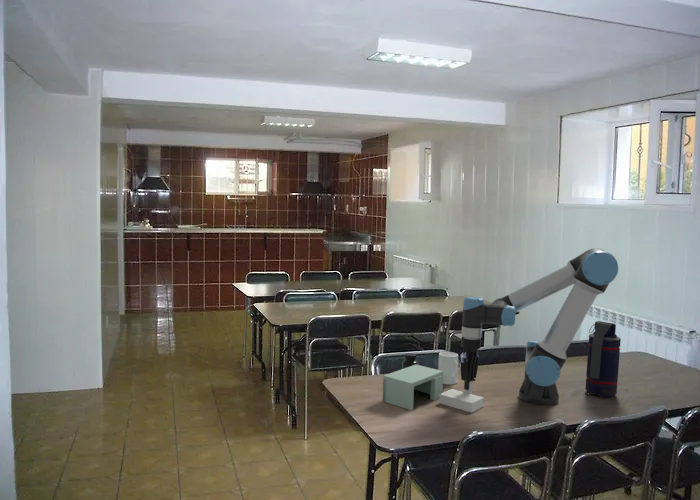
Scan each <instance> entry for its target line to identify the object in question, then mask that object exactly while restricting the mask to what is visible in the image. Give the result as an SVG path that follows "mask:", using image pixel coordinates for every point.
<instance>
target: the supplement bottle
mask: <svg viewBox="0 0 700 500" xmlns="http://www.w3.org/2000/svg"><path fill="white" fill-rule="evenodd" d="M401 363H402V364H401V365H402V366H401V369H404V368H407V367H410V366H413V365H419V362H418V361H417V354H415V353H409V352H408V353H405V354H404V360H403V361H402V362H401Z"/></svg>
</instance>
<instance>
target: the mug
mask: <svg viewBox="0 0 700 500" xmlns="http://www.w3.org/2000/svg"><path fill="white" fill-rule="evenodd" d="M458 362H459V354H458V353H456V352H452V351H441V352H439V353H438V368H437V370H440V371H443V385H456V384H457V383H458V375H459V371H460V369H459V363H458Z"/></svg>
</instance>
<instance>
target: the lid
mask: <svg viewBox="0 0 700 500" xmlns="http://www.w3.org/2000/svg"><path fill="white" fill-rule="evenodd" d="M438 404H441V405H444V406H448V407H451V408H454V409H458V410H461V411H465V412H468V413H469V412H470V413H474V412H476V411H478V410H481V409H482V408H483V407H484V404H485V398H484V396H480V395H475V394H473V393H472V394H469V393H465V392H464V391H460V390H457V389H455V388H454V389H453V388H451V389H449V390H445V391H442V393H441V394H440V395H439V398H438Z"/></svg>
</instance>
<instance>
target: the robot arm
mask: <svg viewBox="0 0 700 500" xmlns="http://www.w3.org/2000/svg"><path fill="white" fill-rule="evenodd" d="M618 273H619V263H618V260H617V259H616V257H615V256H614V255H613V254H612V253H610V252H609V251H606V250H604V249H602V248H598V247H597V248H595V247H594V248H590V249H588V250H586V251H584V252H582V253H581V254H579V255H577V256H576V257H574V258H572V259H570V260H568V262H567V264H566V265H564V266H563V267H561V268H558V269H556V270H554V271H553V272H550V273H549V274H547V275H545V276H542V277H541V278H539V279H537V280H535V281H533V282H531V283H528V284H526V285H524V286H523V287H520V288H518V289H517V290H515V291H512V292H511V293H509V294H507V295H504V296H503V297H500V298H496V299H495V300H493V302H492V303H485V301H484V298H483V297H479V296H478V297H477V296H466V297H465V298H464V299H463V306H462V307H463V308H462V321H461V325H462V326H461V336H462V337H461V338H460V339H461V341H460V346H461V348H463V352H462V356H460V357H459V356H458V362H459V367H460V377H461V378H460V379H461V381H463V382H464V383H463V384H464V385H463V387H464V388H463V392H465V393H469V394H473V386H474V385H473V383H474V382H476V378H477V374H478V369H479V363H480V358H481V356H482V355H481V352H479V350H480V349H481V348H482V339H481V338H482V335H483V333H482V332H483V324H489V325H496V326H498V325H499V326H503V327H513V326H515V324H516V313H517V312H519V311H522V310H524V309H526V308H527V307H529V306H532V305H533V304H535V303H536V304H537V303H538V302H540V301H541V300H544V299H546V298H548V297H550V296H553V295H554V294H557V293H559V292H560V291H562V290H565V289H567V288H568V287H571V286H572V288H571V290H570V291H569V293H568V295H567V297H566V298H565V301H564V303H563V304H562V306H561V308H560V310H559V311H558V313H557V315H556V317H555V319H554V321H553V322H552V324H551V326H550V327H549V330H547V331H548V332H547V333H546V335H545V337H544V339H542V340H528V341H527V342H526V346H525V361H524V364H525V365H524V377H523V380H522V383H521V385H520V388H519V390H518V398H519V399H520V400H522V401H524V402H527V403H529V404H533V405H540V406H553V405H556V404H558V403H559V402H560V394H559V391H558V387H557V383H556V382H557V381H559V379H560V375H561V372H562V371H561V370H562V368H563V366H564V365H565V363H566V361H567V359H568V357H567V350H568V348H569V347H570V344H571V343H572V341H573V339H574V338H575V335H576V334H577V332H578V331H579V329H580V327H581V326H582V323H583V322H584V320H585V317H586V316H587V314H588V313H589V311H590V309H591V307H592V306H593V304H594V302H595V300H596V298H597V296H598V295H602V294H604V293H605V291H606V290H607V289H608V287H609V285H610V284H611V283H612V282H613V281H614V280H615V279H616V278H617V275H618Z"/></svg>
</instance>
